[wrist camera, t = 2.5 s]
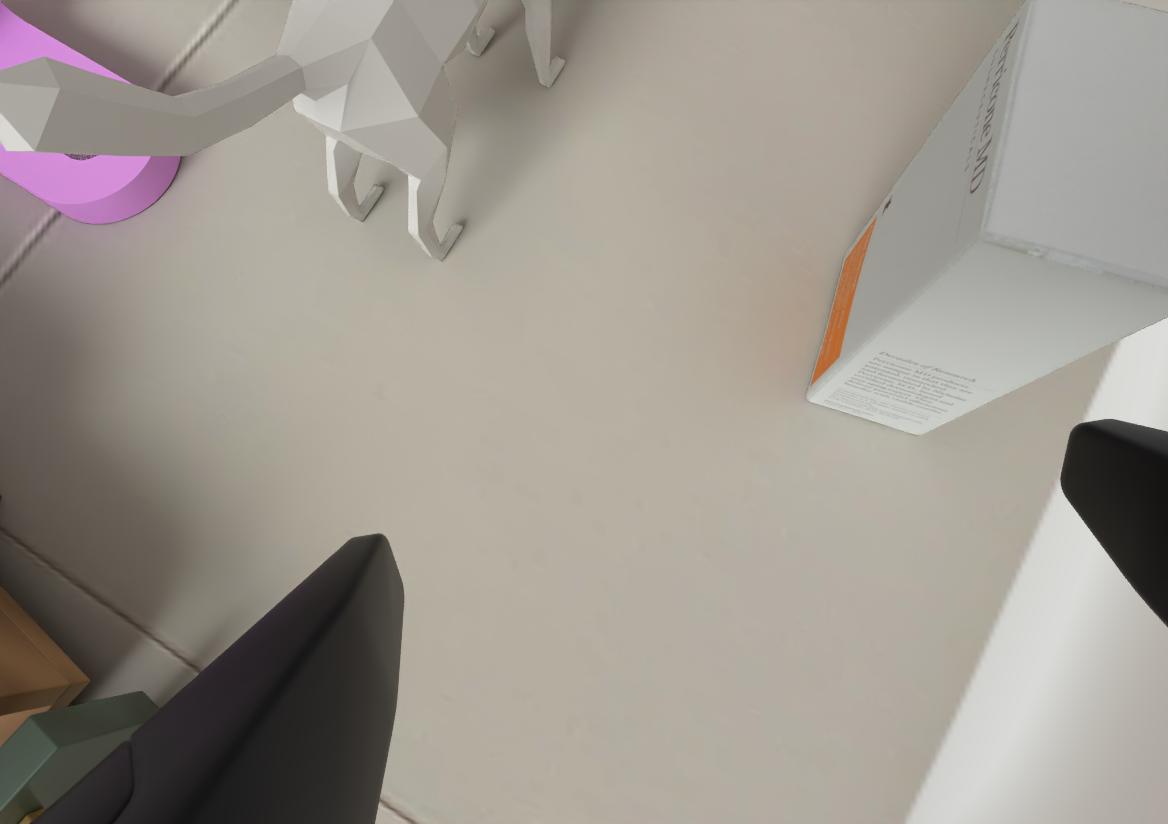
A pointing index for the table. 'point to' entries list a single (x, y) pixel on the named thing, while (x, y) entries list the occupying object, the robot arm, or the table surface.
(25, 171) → the bracket
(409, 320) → the table surface
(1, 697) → the drawer
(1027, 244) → the cosmetic box
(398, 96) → the cat figurine
